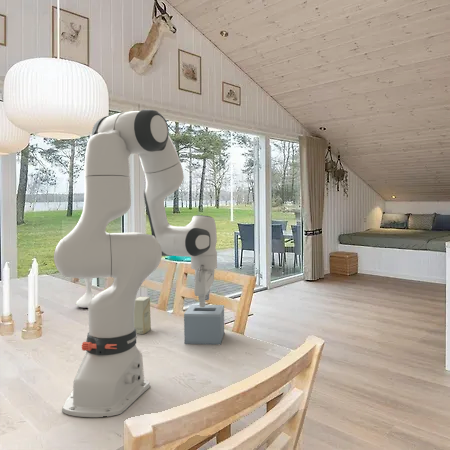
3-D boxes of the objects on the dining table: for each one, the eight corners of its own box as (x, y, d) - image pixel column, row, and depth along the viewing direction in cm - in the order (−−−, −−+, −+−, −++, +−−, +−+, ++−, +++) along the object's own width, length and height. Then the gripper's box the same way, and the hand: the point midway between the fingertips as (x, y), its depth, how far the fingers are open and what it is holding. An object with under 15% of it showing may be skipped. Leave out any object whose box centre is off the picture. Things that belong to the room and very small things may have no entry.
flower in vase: (81, 303, 191) (80, 250, 190) (105, 303, 190) (104, 250, 189) (70, 310, 178) (68, 253, 177) (95, 310, 177) (94, 253, 176)
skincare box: (144, 334, 144) (143, 300, 144) (132, 333, 145) (132, 300, 145) (151, 329, 151) (150, 296, 150) (139, 328, 152) (139, 296, 151)
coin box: (220, 344, 133) (220, 314, 133) (184, 343, 134) (184, 313, 134) (224, 332, 145) (224, 305, 145) (191, 332, 146) (190, 304, 146)
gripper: (209, 267, 128) (209, 311, 128) (216, 259, 148) (217, 296, 149) (189, 267, 128) (189, 311, 129) (199, 258, 149) (200, 296, 149)
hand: (204, 303), depth 139 cm, fingers open, 8 cm apart
